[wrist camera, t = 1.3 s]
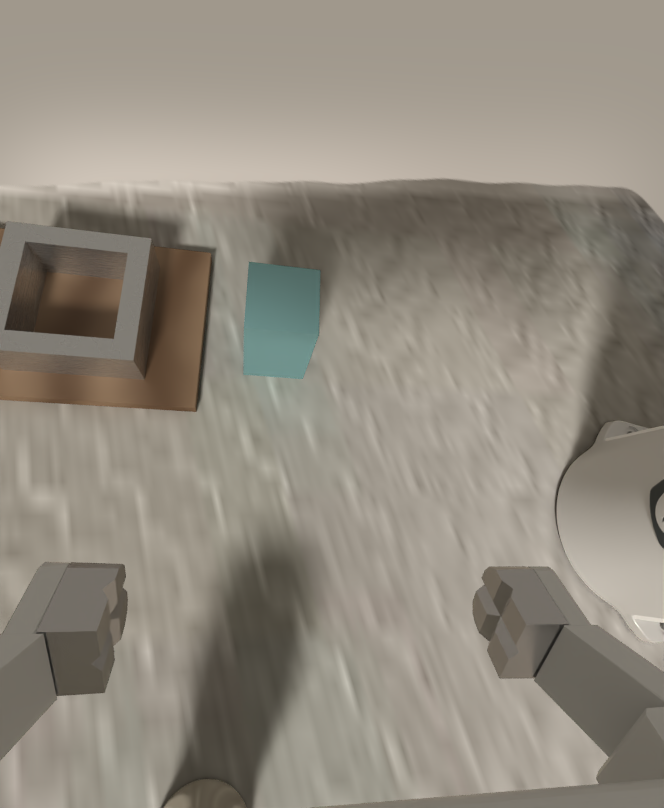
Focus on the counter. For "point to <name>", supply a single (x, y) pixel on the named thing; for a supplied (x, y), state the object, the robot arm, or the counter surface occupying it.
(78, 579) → the robot arm
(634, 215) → the counter surface
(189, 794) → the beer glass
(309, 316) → the teal peg
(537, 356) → the counter surface
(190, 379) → the walnut board
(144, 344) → the socket
